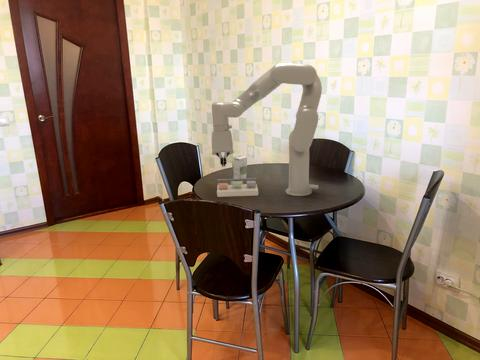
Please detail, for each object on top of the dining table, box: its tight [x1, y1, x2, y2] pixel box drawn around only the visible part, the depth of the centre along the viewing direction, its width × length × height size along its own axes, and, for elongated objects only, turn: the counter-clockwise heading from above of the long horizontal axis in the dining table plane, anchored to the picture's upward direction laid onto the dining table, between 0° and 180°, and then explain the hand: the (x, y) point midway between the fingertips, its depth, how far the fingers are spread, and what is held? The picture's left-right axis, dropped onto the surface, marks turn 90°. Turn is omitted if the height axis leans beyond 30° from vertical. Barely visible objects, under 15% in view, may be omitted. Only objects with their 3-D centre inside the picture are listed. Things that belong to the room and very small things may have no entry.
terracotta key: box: [218, 183, 228, 189], centre depth 187 cm, size 5×5×2 cm
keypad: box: [216, 177, 259, 198], centre depth 189 cm, size 20×14×5 cm
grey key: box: [246, 180, 257, 186], centre depth 188 cm, size 5×5×2 cm
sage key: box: [232, 181, 242, 187], centre depth 187 cm, size 5×5×2 cm
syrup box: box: [231, 155, 248, 179], centre depth 204 cm, size 6×6×14 cm
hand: (223, 165), depth 185 cm, fingers closed
